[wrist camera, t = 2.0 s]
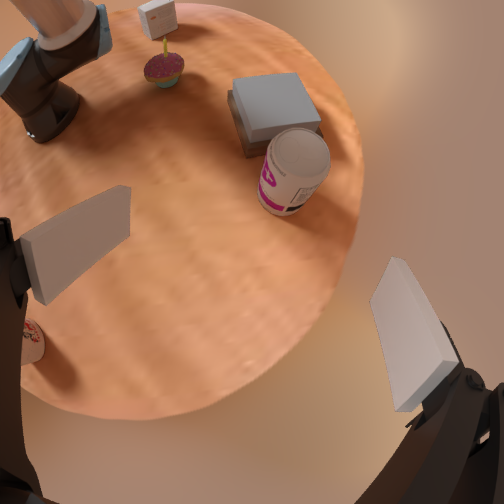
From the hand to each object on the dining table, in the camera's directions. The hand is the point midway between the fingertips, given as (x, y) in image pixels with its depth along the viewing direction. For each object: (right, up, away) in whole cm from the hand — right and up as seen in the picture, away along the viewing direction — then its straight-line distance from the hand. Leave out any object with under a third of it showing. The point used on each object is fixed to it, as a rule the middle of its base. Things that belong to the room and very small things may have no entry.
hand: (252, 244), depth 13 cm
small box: (-24, +58, +38) cm, 74 cm away
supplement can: (+5, +9, +33) cm, 35 cm away
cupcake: (-18, +36, +35) cm, 54 cm away
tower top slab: (+4, +25, +32) cm, 41 cm away
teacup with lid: (-45, -17, +25) cm, 54 cm away
